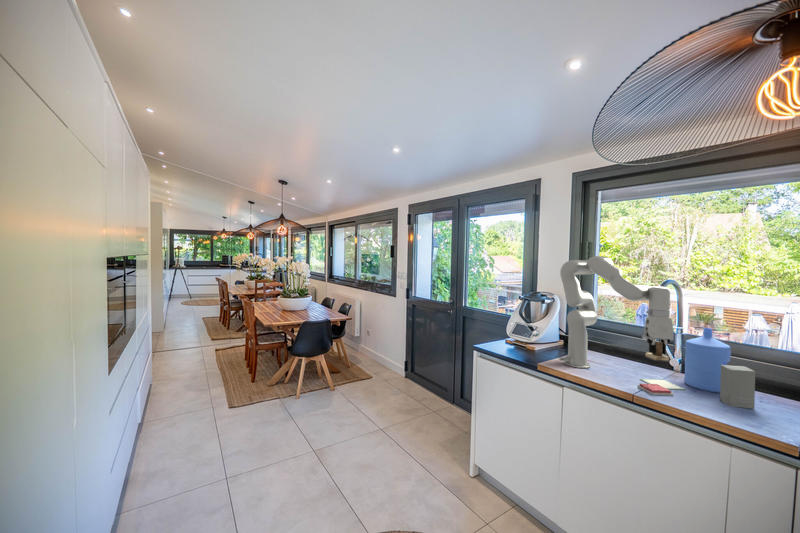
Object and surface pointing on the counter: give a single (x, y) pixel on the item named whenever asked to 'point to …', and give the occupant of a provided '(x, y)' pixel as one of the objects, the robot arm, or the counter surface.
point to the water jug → (705, 361)
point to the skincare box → (737, 386)
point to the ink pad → (655, 389)
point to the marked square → (663, 384)
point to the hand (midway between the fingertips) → (657, 352)
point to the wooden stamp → (658, 353)
